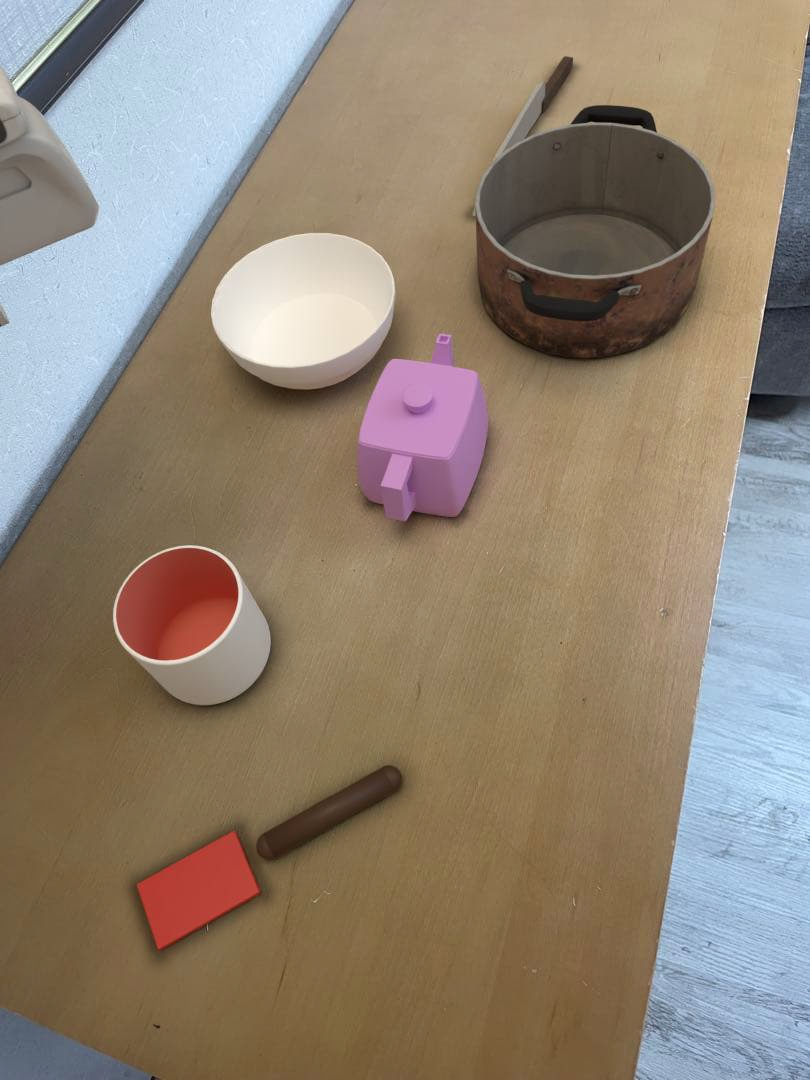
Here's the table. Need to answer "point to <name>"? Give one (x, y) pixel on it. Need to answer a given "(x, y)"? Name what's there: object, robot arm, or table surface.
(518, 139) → the kitchen knife
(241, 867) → the spatula
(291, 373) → the bowl
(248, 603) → the cup
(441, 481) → the teapot
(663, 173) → the saucepan
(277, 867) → the table surface
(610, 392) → the table surface
